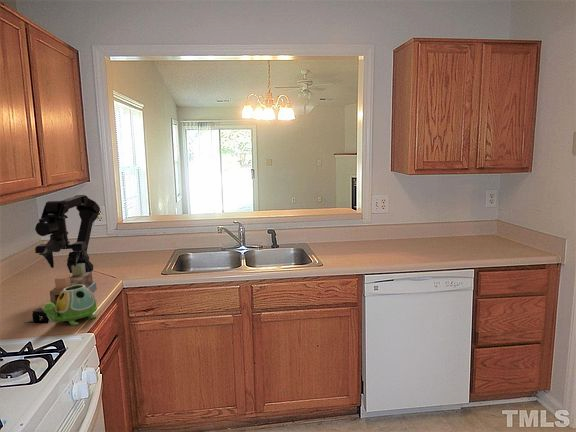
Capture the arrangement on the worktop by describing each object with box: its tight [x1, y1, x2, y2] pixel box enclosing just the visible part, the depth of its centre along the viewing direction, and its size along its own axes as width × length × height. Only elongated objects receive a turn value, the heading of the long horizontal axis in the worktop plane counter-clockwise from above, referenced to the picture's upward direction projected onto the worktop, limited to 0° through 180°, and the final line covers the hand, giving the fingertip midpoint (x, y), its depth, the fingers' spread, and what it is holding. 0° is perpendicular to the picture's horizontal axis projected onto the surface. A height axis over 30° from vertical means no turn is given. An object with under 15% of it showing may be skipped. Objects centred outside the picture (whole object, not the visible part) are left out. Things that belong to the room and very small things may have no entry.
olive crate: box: [71, 263, 86, 276], centre depth 183 cm, size 4×4×4 cm
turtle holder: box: [42, 284, 98, 326], centre depth 152 cm, size 12×18×12 cm
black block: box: [24, 307, 52, 325], centre depth 155 cm, size 12×7×5 cm, turn 83°
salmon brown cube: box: [54, 274, 71, 289], centre depth 166 cm, size 4×4×4 cm
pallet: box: [49, 271, 94, 304], centre depth 174 cm, size 24×6×5 cm, turn 4°
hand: (63, 267), depth 180 cm, fingers open, 9 cm apart
